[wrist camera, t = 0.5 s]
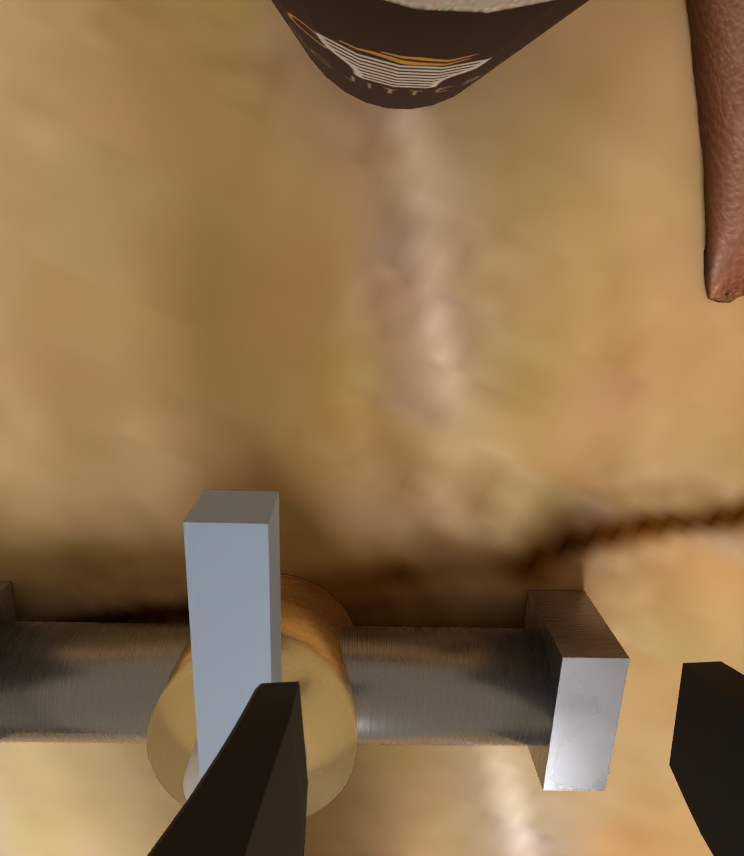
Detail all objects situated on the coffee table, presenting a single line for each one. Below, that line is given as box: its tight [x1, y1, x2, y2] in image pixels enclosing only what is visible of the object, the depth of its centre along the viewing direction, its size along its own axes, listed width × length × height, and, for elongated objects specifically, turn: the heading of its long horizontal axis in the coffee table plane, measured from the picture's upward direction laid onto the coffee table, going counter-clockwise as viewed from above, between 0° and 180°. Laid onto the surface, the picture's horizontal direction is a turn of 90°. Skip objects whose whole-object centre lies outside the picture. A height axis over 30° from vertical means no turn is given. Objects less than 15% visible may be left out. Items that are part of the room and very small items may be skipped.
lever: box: [183, 490, 308, 800], centre depth 15 cm, size 10×3×2 cm, turn 178°
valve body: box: [0, 574, 630, 817], centre depth 19 cm, size 22×6×4 cm, turn 88°
